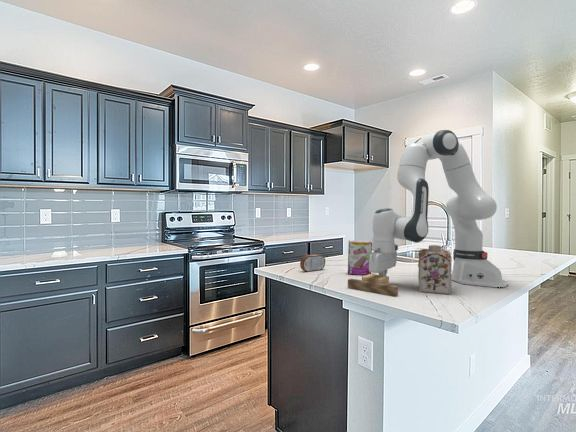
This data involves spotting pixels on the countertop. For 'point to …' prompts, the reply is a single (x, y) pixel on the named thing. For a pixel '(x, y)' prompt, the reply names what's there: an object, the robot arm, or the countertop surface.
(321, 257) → the tin
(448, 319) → the countertop surface
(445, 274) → the decorative jar
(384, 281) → the oak block
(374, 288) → the walnut board
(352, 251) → the candy bar box
